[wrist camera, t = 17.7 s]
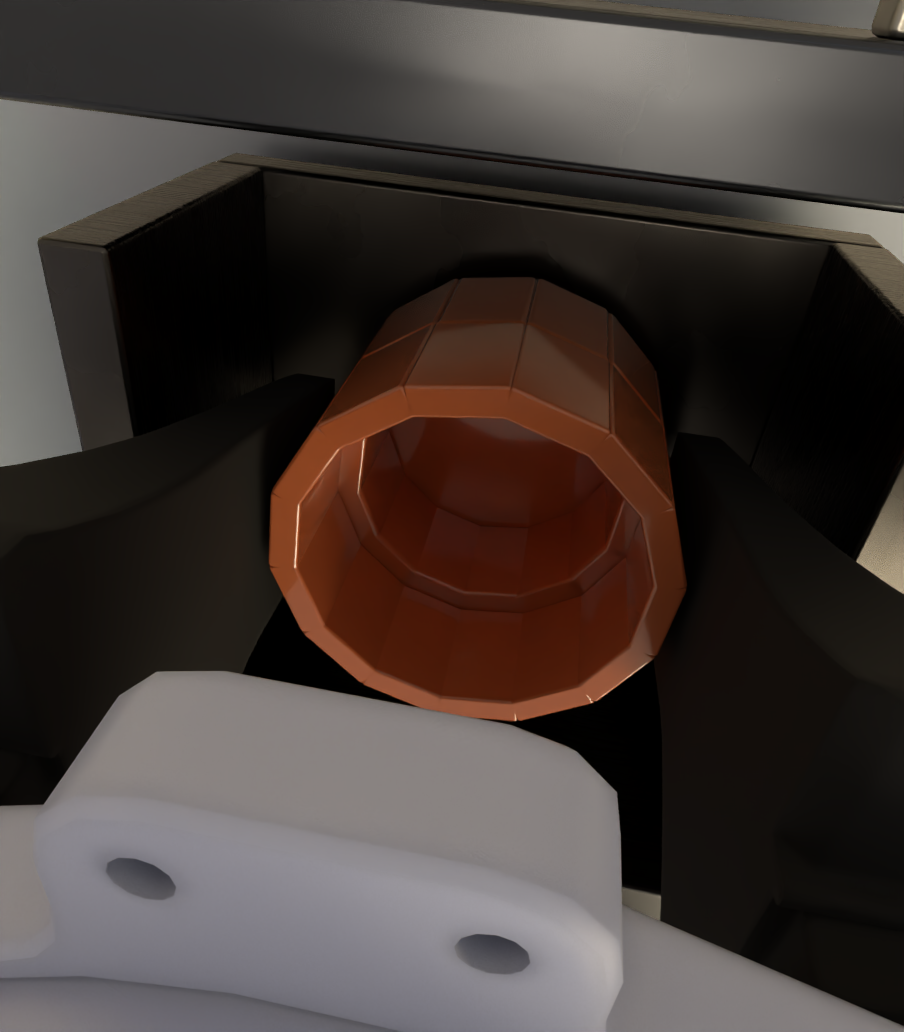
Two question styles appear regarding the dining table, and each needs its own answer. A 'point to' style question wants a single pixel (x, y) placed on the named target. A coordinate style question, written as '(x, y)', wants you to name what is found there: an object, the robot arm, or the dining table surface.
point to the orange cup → (486, 506)
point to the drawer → (498, 238)
